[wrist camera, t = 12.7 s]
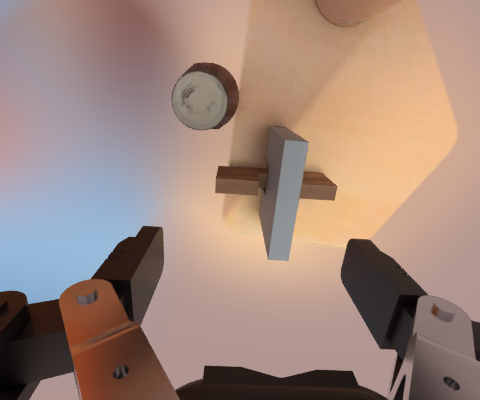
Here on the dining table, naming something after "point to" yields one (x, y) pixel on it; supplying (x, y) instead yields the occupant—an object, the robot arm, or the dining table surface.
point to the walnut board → (251, 179)
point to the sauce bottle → (205, 97)
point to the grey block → (282, 190)
